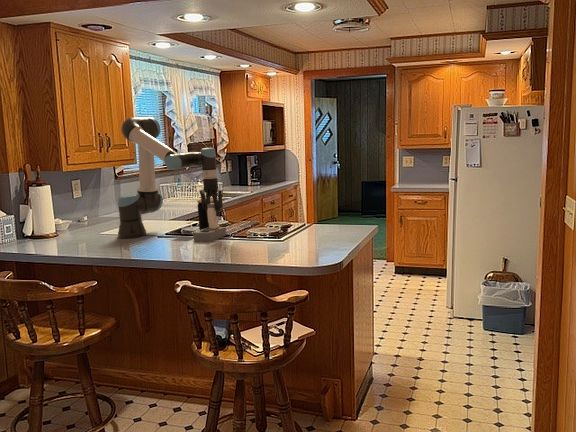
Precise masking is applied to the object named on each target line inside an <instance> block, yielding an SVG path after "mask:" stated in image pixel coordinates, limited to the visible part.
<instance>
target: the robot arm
mask: <svg viewBox="0 0 576 432" xmlns="http://www.w3.org/2000/svg"><path fill="white" fill-rule="evenodd" d="M120 129H121V133H122V136H123V137H124V138H125V139H126V140H127V141H128V142H130V143H131V144H137V147H138V149H137V152H138V154H137V155H138V174H139V187H138V188H137V190H136V191H134V192H133V191H132V192H127V193H123V194H121V195H120V196H118V198H117V206H118V214H119V227H118V232H117V236H118V238H120V239H135V238H139V237H144V236H146V235H147V230H146V229H145V226H144V223H143V219H142V218H143V217H142V215H146V214H147V215H148V214H152V213H155V212H157V211H159V210H160V209H161V208H162V206H163V202H164V199H163V195H162V194H161V192H159V189H158V188H157V187H156V173H155V172H156V170H155V169H156V168H155V157H156V158H158V159H159V160H161V161H163V163H164V165H165V168H167V169H168V170H171V171H172V170H173V171H177V170H180V169H185V168H186V169H187V168H193V167H201V172H202V178H203V179H202V183H203V184H202V185H203V188H202V189H200V190H199V191H198V192H199V194H200V199H201V202H202V208H203V209H205V210H206V215H207V216H208V207H207V204H210V198H213V201H214V206H215V210H214V214H215V223H217V222H218V223H219V222H220V218H219V217H220V211H221V210H222V209H223V206H224V205H223V204H224V203H223V195H224V194H223V193H224V190H223V189H220V188H219V186H218V185H219V182H218V169H217V155H216V154H217V153H216V149H215V148H213V147H203V148H201V149H200V152H199V151H188V152H185V153H184V152H183V153H178V152H177V151H176V150H174V149H172V148H170V147H169V146H167V145H166V144H165V143H163V142H161V141H159V140H158V139H157V138H159V136H160V135H161V131H162V130H161V125H160V123H159V121H158V120H157V119H156V118H154V117H152V116H140V117H129V118H127V119H125V120H124V121H123V122H122V124H121V128H120ZM208 223H209V219H208Z"/></svg>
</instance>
